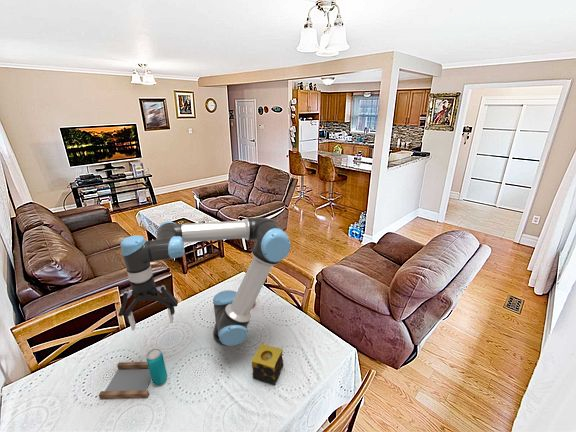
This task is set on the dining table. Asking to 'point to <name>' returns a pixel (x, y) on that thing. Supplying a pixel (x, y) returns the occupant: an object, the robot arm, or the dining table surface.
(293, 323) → the dining table surface
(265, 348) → the candle
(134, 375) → the mat
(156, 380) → the beverage can
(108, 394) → the rail left
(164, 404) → the dining table surface
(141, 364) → the rail right
